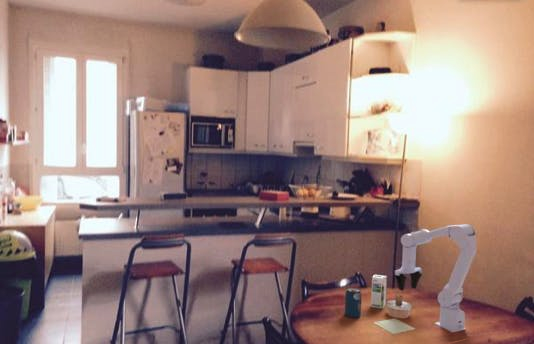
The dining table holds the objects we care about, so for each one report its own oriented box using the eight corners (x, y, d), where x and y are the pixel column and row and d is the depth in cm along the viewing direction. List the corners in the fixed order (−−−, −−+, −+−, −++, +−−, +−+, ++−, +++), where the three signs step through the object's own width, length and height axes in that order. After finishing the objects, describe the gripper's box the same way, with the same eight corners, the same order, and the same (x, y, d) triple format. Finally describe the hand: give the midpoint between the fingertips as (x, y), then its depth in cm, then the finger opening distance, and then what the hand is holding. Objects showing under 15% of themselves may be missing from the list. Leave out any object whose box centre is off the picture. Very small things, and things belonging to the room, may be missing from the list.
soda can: (362, 319, 187) (363, 292, 186) (346, 319, 187) (347, 291, 186) (358, 313, 194) (359, 287, 193) (343, 313, 194) (344, 286, 193)
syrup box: (370, 307, 202) (371, 276, 201) (373, 303, 207) (374, 273, 207) (382, 309, 199) (384, 278, 199) (385, 305, 205) (387, 275, 204)
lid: (417, 309, 190) (417, 298, 190) (397, 312, 186) (397, 301, 185) (400, 300, 200) (400, 290, 200) (380, 303, 196) (381, 293, 196)
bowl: (413, 317, 191) (413, 308, 191) (397, 320, 187) (398, 311, 187) (398, 310, 199) (398, 301, 199) (383, 313, 195) (383, 304, 195)
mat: (415, 329, 178) (415, 328, 178) (393, 334, 172) (393, 333, 172) (394, 319, 188) (394, 318, 188) (373, 323, 183) (373, 322, 183)
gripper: (413, 256, 204) (412, 284, 204) (390, 259, 197) (389, 288, 198) (425, 260, 197) (424, 289, 198) (402, 262, 191) (400, 293, 192)
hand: (407, 289), depth 198 cm, fingers open, 7 cm apart
